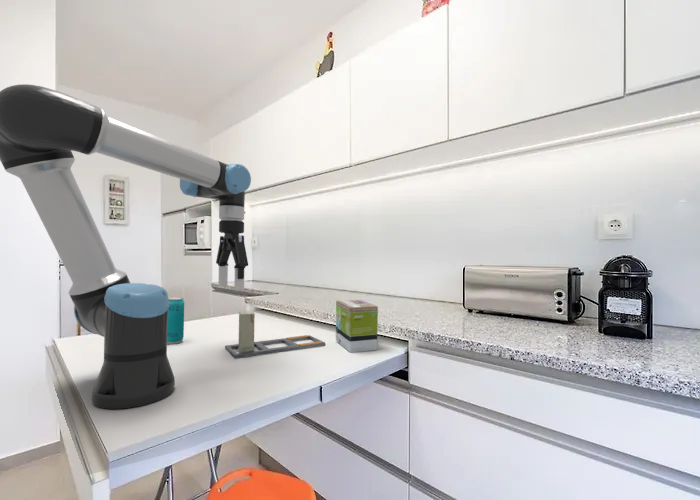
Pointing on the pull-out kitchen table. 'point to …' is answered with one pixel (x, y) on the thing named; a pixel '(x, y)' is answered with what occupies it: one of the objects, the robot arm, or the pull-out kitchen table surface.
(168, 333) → the beverage can
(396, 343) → the pull-out kitchen table surface
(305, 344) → the socket rail
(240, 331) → the skincare box
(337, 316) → the tea box
